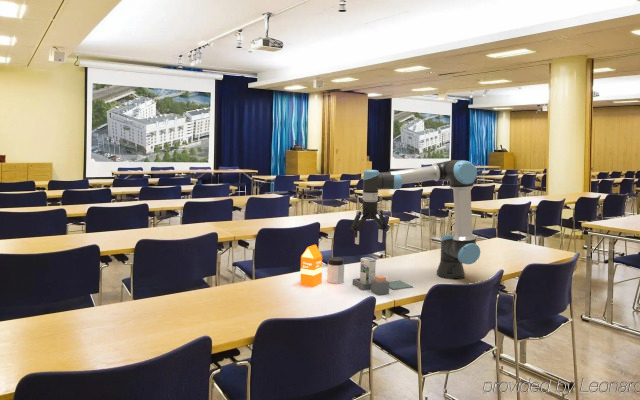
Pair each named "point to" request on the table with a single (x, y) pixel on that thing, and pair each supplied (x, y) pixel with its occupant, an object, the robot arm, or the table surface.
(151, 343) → the table surface
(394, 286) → the rubber mat
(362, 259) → the syrup box
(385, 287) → the frame
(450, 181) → the robot arm
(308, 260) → the orange juice
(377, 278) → the peach square block
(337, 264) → the jar
